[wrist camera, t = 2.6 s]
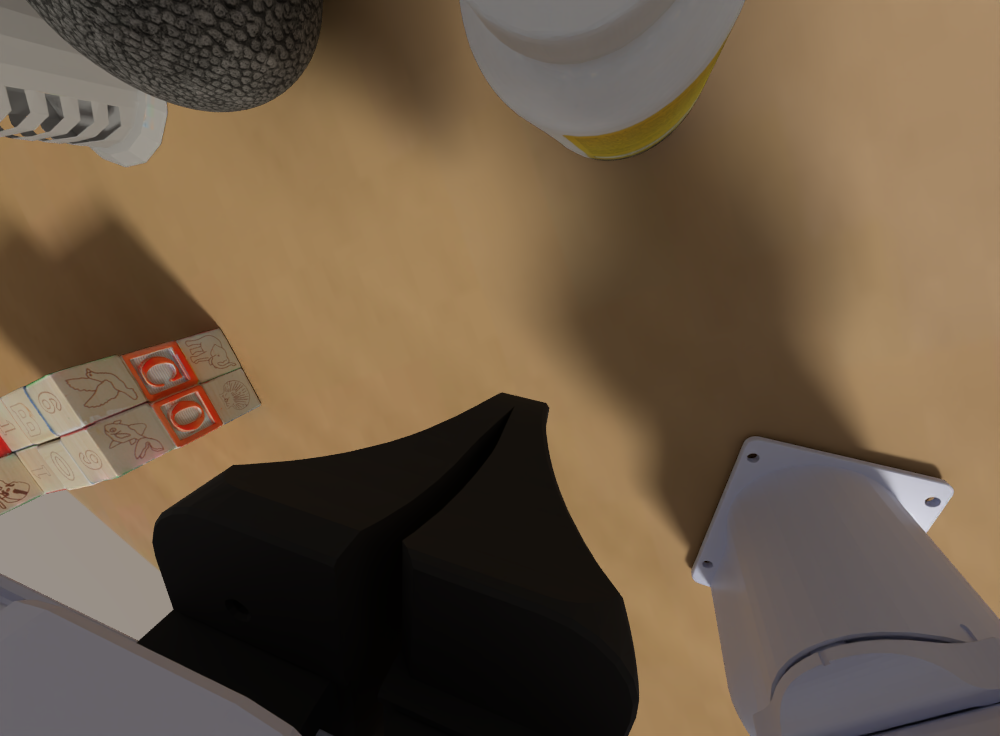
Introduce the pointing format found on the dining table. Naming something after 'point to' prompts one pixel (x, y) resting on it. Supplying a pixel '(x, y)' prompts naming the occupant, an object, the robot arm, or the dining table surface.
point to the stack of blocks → (116, 415)
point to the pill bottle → (599, 65)
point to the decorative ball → (193, 45)
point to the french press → (70, 93)
